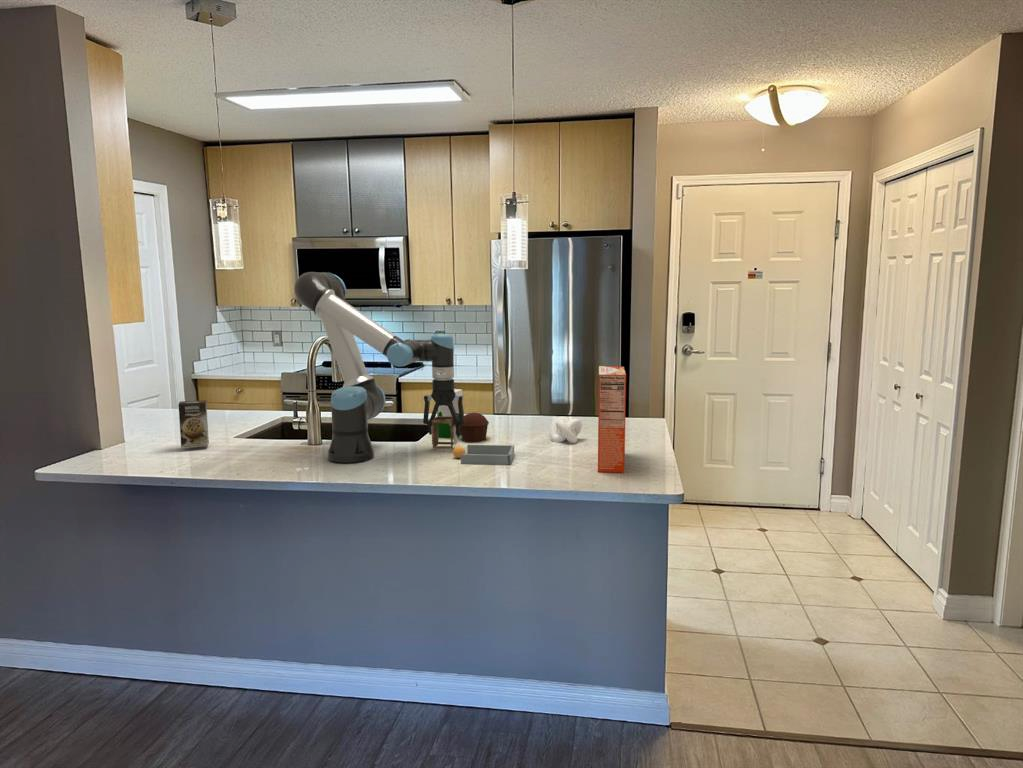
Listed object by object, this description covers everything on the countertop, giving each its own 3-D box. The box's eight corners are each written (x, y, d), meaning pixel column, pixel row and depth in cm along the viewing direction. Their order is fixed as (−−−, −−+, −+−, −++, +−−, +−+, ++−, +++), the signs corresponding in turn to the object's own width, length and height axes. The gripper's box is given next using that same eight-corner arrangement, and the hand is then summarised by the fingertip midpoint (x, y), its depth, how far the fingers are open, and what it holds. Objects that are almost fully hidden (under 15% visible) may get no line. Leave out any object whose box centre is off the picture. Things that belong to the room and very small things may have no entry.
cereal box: (597, 453, 229) (599, 366, 225) (622, 454, 228) (623, 366, 224) (597, 471, 207) (598, 374, 203) (624, 472, 206) (626, 374, 202)
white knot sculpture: (570, 437, 255) (570, 414, 254) (590, 443, 245) (590, 419, 244) (545, 441, 249) (545, 417, 248) (565, 447, 239) (565, 422, 238)
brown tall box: (180, 448, 240) (177, 403, 238) (182, 444, 246) (179, 401, 244) (208, 446, 244) (205, 402, 242) (209, 442, 250) (206, 399, 248)
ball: (465, 451, 221) (461, 461, 222) (467, 447, 225) (463, 458, 226) (454, 446, 222) (450, 456, 223) (456, 442, 226) (452, 453, 227)
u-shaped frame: (460, 463, 217) (460, 454, 216) (467, 453, 231) (467, 444, 231) (510, 464, 215) (510, 455, 215) (514, 453, 229) (514, 445, 229)
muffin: (484, 444, 245) (484, 417, 243) (455, 442, 247) (454, 416, 246) (491, 437, 256) (491, 411, 255) (463, 436, 258) (463, 410, 257)
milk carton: (443, 433, 263) (442, 382, 260) (465, 435, 260) (464, 383, 257) (434, 438, 255) (433, 385, 252) (456, 439, 252) (455, 386, 249)
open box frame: (432, 448, 233) (432, 420, 232) (436, 444, 240) (436, 416, 239) (452, 448, 233) (452, 420, 231) (456, 444, 240) (455, 416, 238)
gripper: (412, 380, 230) (414, 445, 233) (470, 380, 228) (471, 446, 232) (417, 377, 238) (419, 440, 241) (473, 377, 236) (474, 441, 239)
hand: (444, 443), depth 236 cm, fingers closed on open box frame, 7 cm apart
